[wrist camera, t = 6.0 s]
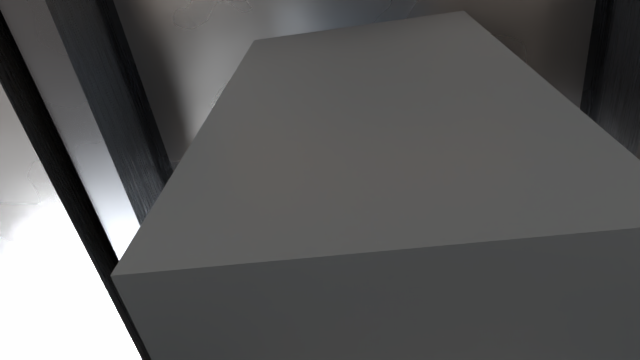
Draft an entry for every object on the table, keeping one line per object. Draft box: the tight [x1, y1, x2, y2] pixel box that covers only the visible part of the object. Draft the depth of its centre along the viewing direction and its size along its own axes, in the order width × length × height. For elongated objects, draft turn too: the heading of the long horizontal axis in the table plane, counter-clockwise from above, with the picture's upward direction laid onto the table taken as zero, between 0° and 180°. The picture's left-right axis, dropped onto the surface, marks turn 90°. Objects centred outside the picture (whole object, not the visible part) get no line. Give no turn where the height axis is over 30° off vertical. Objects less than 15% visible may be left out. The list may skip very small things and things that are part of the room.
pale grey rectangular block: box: [110, 11, 640, 360], centre depth 7 cm, size 4×8×6 cm, turn 8°
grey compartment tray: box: [0, 0, 640, 360], centre depth 11 cm, size 22×14×3 cm, turn 98°
